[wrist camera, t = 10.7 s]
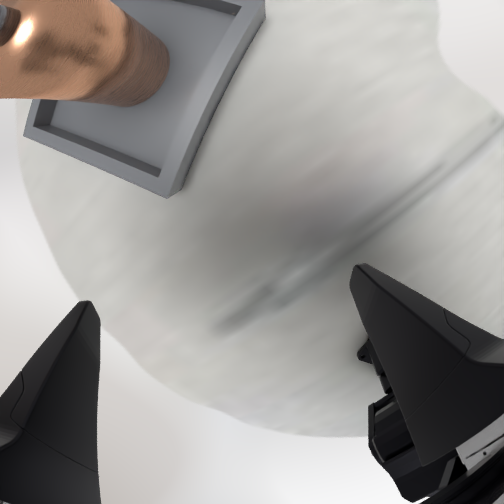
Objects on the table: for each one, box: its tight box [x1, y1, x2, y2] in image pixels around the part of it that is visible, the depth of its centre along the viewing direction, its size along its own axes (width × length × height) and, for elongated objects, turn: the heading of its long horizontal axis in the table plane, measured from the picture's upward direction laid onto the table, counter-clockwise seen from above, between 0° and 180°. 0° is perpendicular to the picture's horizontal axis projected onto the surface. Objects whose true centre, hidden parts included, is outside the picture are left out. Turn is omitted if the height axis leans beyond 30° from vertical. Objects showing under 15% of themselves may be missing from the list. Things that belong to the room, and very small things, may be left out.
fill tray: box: [23, 0, 266, 199], centre depth 15 cm, size 14×14×3 cm
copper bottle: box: [0, 0, 170, 107], centre depth 9 cm, size 6×6×14 cm
